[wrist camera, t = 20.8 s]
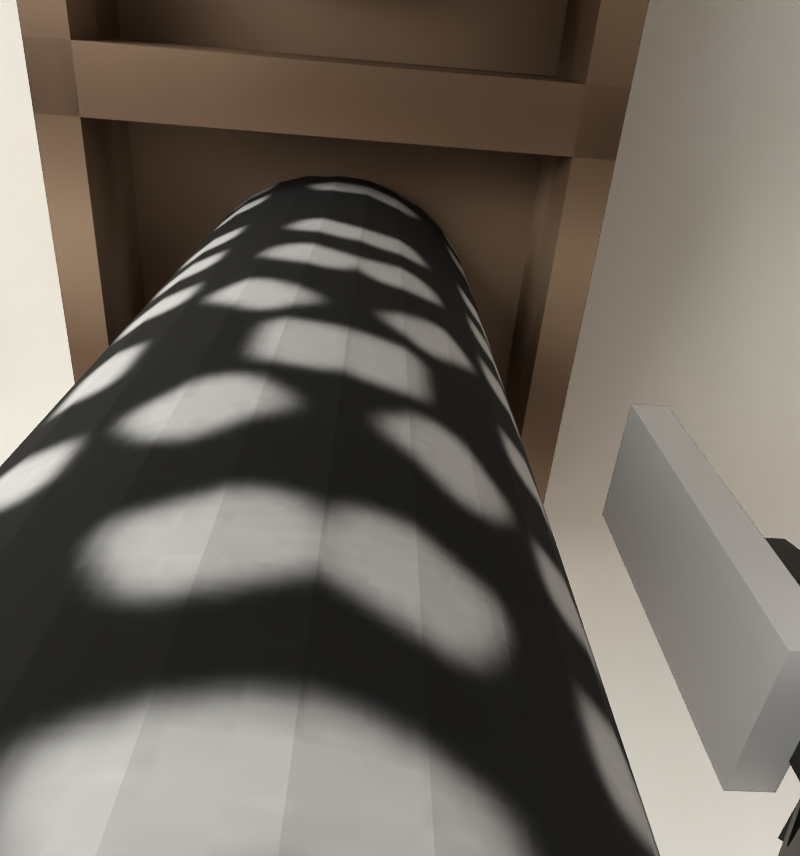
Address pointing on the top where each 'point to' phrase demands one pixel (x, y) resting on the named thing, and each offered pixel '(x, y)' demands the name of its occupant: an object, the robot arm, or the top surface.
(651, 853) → the spotted tube
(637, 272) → the top surface
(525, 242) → the divided wooden tray
